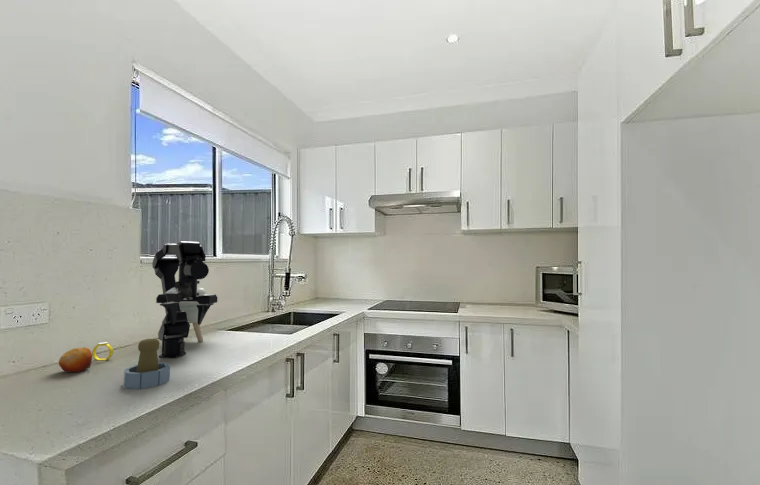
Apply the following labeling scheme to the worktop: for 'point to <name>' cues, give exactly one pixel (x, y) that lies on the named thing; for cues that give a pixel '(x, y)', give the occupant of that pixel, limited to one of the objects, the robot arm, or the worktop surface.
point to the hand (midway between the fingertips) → (186, 324)
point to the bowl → (146, 377)
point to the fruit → (76, 360)
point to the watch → (102, 345)
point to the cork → (148, 356)
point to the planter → (193, 313)
